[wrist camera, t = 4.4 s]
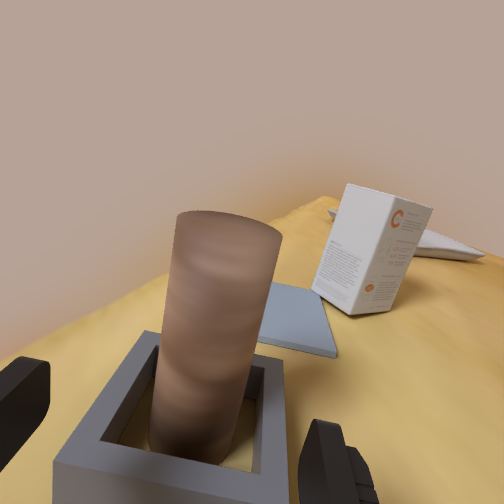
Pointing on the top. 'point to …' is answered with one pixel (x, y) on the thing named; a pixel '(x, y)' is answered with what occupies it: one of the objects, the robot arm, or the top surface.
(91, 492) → the socket
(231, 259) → the plug
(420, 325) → the top surface
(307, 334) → the mat
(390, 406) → the top surface
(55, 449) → the top surface
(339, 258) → the small box
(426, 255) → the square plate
